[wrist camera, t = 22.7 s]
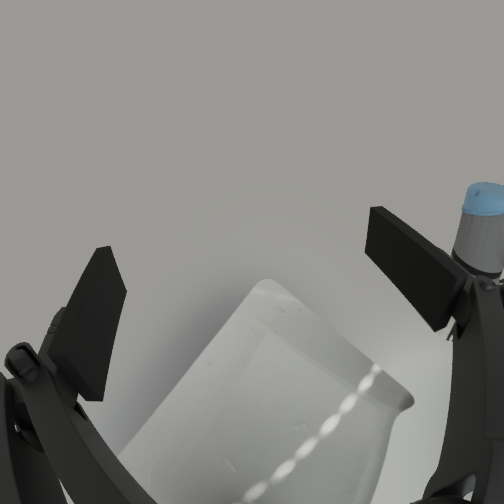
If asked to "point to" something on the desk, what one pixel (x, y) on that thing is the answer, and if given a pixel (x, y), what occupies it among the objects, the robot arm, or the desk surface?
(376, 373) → the desk surface
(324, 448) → the desk surface
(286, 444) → the desk surface
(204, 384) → the desk surface
